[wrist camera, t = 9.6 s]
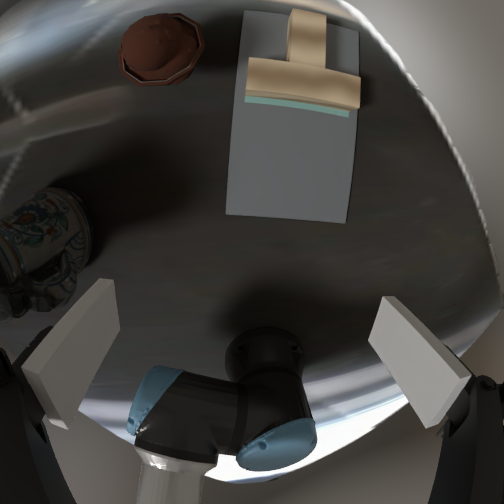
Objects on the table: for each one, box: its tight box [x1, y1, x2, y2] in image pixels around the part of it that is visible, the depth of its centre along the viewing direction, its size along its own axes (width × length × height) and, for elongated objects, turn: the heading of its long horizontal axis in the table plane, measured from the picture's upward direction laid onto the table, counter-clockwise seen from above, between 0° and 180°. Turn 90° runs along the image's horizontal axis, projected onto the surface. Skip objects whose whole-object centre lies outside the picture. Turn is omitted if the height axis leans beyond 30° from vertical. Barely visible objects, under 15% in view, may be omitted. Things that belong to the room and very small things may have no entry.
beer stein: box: [0, 187, 95, 322], centre depth 28 cm, size 16×19×25 cm
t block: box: [245, 9, 361, 112], centre depth 31 cm, size 15×16×4 cm
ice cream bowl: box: [118, 13, 205, 87], centre depth 26 cm, size 11×11×15 cm
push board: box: [226, 10, 359, 223], centre depth 36 cm, size 34×19×1 cm, turn 175°
